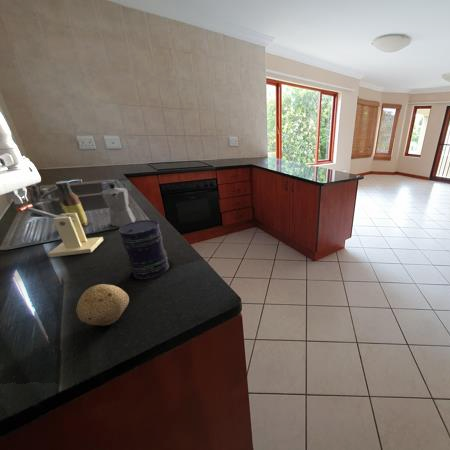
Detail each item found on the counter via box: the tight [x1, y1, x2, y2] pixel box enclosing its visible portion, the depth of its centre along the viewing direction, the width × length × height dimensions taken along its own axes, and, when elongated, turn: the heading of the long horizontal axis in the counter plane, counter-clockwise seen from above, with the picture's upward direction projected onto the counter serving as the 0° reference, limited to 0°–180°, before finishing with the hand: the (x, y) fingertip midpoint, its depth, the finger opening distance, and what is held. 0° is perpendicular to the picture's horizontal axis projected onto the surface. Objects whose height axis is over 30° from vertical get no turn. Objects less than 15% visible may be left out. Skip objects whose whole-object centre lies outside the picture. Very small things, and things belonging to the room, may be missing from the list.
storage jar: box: [118, 219, 170, 280], centre depth 71 cm, size 10×10×15 cm
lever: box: [16, 203, 74, 222], centre depth 80 cm, size 13×5×2 cm, turn 108°
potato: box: [75, 283, 130, 327], centre depth 53 cm, size 9×9×10 cm
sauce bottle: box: [55, 180, 89, 228], centre depth 101 cm, size 7×6×20 cm
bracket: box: [47, 213, 104, 258], centre depth 84 cm, size 12×10×13 cm
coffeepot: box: [100, 183, 137, 227], centre depth 106 cm, size 15×9×18 cm, turn 35°
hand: (22, 202), depth 77 cm, fingers closed
